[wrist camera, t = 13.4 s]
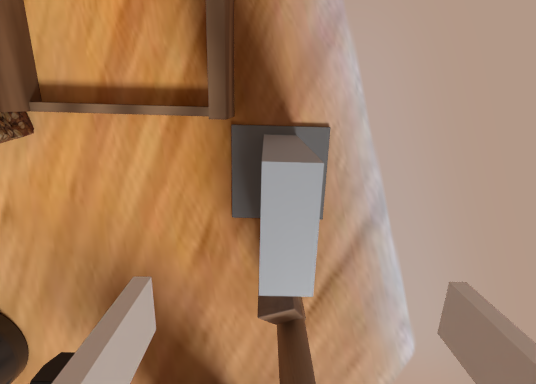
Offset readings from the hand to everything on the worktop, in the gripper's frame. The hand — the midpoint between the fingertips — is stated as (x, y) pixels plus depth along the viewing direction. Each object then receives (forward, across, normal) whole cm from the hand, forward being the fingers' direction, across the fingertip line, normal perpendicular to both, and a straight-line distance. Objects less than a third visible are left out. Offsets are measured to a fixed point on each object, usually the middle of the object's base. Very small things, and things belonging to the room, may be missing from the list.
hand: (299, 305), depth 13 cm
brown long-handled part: (+26, +1, -15) cm, 30 cm away
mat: (+26, 0, 0) cm, 26 cm away
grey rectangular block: (+26, 0, 0) cm, 26 cm away
